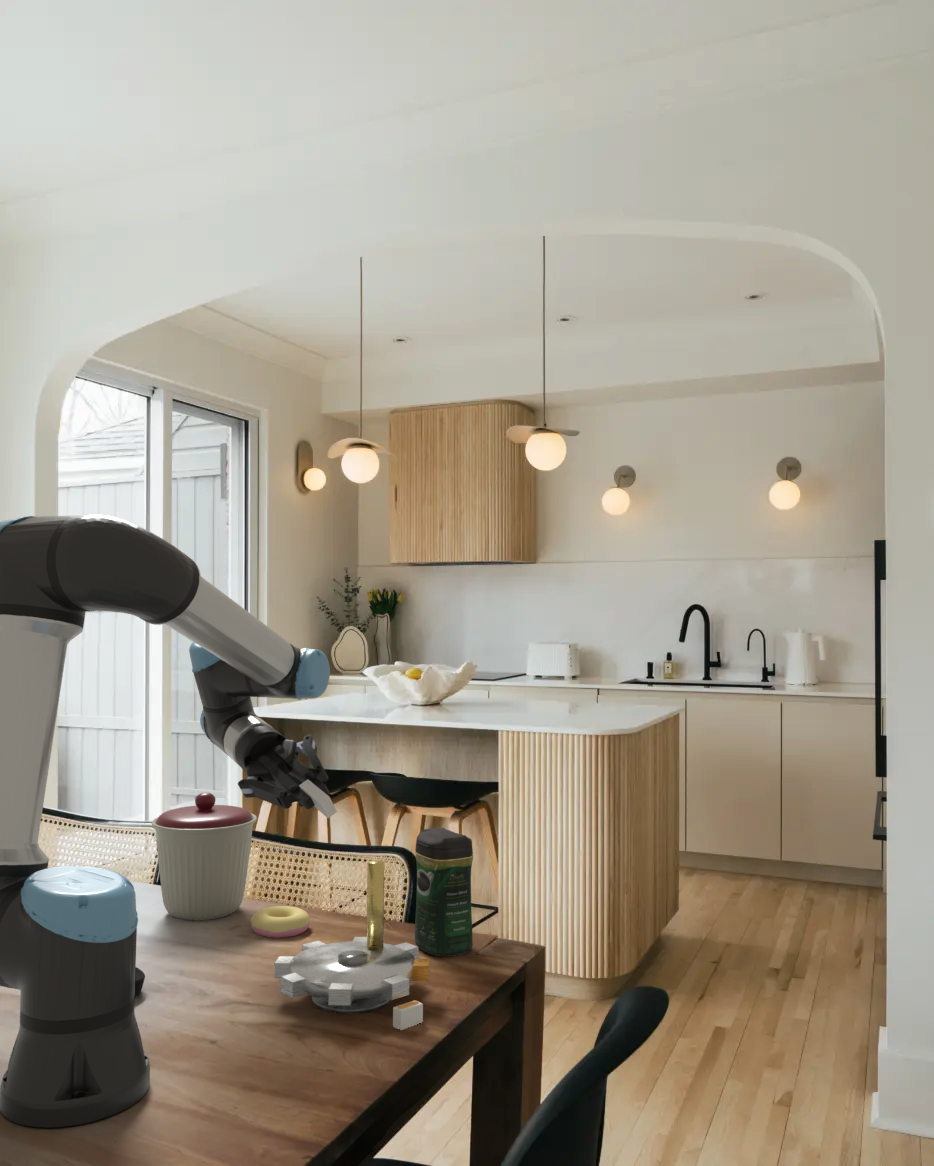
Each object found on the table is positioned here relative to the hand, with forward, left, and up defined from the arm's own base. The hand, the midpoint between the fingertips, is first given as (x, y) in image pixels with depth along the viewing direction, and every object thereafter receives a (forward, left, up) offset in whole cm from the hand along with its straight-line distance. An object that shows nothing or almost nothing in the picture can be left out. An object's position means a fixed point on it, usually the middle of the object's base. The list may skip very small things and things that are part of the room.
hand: (328, 807), depth 131 cm
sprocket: (+5, -1, -24) cm, 24 cm away
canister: (+30, +43, -27) cm, 59 cm away
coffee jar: (+29, -4, -27) cm, 40 cm away
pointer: (0, -12, -27) cm, 29 cm away
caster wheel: (-8, +32, -27) cm, 42 cm away
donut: (+27, +25, -27) cm, 46 cm away
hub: (+5, -1, -27) cm, 27 cm away
